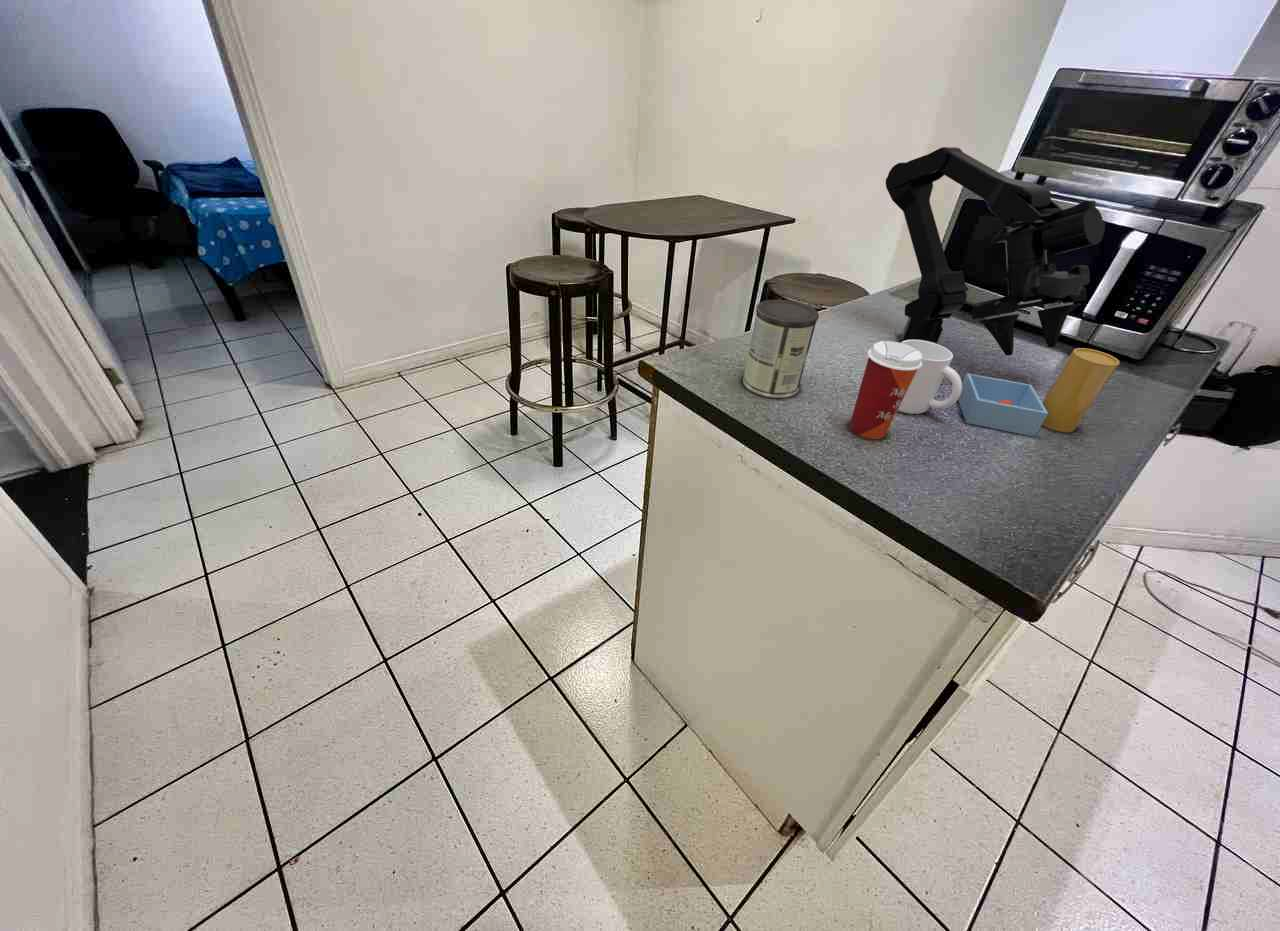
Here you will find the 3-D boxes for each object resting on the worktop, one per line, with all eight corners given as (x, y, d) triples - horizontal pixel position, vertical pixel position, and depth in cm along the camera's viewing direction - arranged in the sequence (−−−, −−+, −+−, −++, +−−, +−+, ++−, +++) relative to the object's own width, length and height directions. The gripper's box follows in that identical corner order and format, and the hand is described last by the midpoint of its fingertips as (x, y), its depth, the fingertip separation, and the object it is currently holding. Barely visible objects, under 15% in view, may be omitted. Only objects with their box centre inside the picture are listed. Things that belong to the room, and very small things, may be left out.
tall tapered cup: (1039, 427, 89) (1080, 360, 82) (1029, 410, 94) (1068, 345, 86) (1080, 435, 88) (1126, 368, 80) (1068, 417, 93) (1111, 352, 85)
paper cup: (886, 448, 81) (921, 367, 73) (837, 432, 84) (865, 351, 76) (896, 426, 87) (929, 348, 78) (849, 412, 90) (876, 334, 81)
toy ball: (993, 399, 92) (998, 414, 92) (988, 405, 90) (994, 421, 90) (1013, 394, 89) (1018, 410, 90) (1009, 401, 87) (1014, 417, 88)
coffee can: (761, 366, 102) (777, 294, 93) (808, 385, 97) (830, 311, 88) (731, 383, 96) (744, 307, 87) (779, 404, 90) (799, 326, 82)
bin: (965, 423, 89) (977, 400, 86) (956, 394, 97) (966, 373, 94) (1034, 436, 87) (1048, 413, 84) (1018, 406, 95) (1031, 384, 92)
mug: (958, 417, 90) (985, 362, 84) (932, 430, 86) (959, 374, 80) (896, 387, 98) (917, 335, 92) (870, 398, 94) (890, 345, 88)
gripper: (1023, 256, 83) (1028, 355, 85) (1118, 242, 86) (1120, 338, 88) (966, 273, 94) (972, 360, 96) (1053, 259, 97) (1057, 345, 99)
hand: (1030, 351), depth 95 cm, fingers open, 9 cm apart
